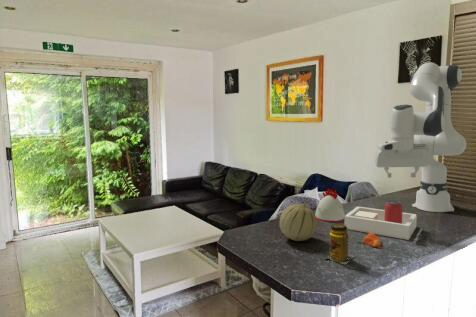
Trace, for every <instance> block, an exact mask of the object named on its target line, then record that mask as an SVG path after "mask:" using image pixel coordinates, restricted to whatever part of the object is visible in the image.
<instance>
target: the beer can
mask: <svg viewBox="0 0 476 317" xmlns="http://www.w3.org/2000/svg"><path fill="white" fill-rule="evenodd" d="M384 210H385V221H387V222H394V223H400V224H402V212H403V205H402V202H401V201H400V200H387V201H386V203H385V205H384Z"/></svg>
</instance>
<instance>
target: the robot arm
mask: <svg viewBox="0 0 476 317" xmlns="http://www.w3.org/2000/svg"><path fill="white" fill-rule="evenodd" d="M462 74H463V72H462V69H461V67H460V65H457V64H456V65H455V64H448V65H440V66H439V65H438V64H436V63H435V62H431V61H430V62H428V61H427V62H425V63H423V64H422V65H420V66H419V68H417V70H415V71H413V72H412V73H411V74H410V80H409V84H410V85H409V92H410V95H412V97H413V98H415V99H416V100H418V101H421V102H425V111H420V112H419V111H415V112H414V106H413V105H411V104H400V105H399V104H398V105H395V106H393V107H392V109H391V113H390V114H391V116H390V132H391V133H390V136H389V140H386V141H383V142H380V143H378V144H377V147H378V150H376V152H375V158H374V163H375V164H374V165H375V166H376V167H377V168H383V170H384V172H386V178H388V179H391V178H392V173H391V172H389V170H390V168H413V169H414V170H413V171H412V172H410V177H411V178H417V177H416V176H417V173H418V172H419V170H420V168H421V170H420V171H421V180H420V184H419V187H420V189H419V190H417V191H416V195H415V196H416V200H415V202H414V203H412V204H411V207H413V208H417V209H418V210H422V211H425V212H432V213H446V212H447V213H448V212H455V208H454V206H453V205H452V203H451V202H452V201H451V194H450V193H449V192H448V183H447V175H448V169H447V166H446V165H445V164H444V163H442V162H440V161H437V160H436V159H435V156H448V157H449V156H457V155H461V154H462V153H464V152H465V151H466V148H467V140H466V138H465V137H464V136H463V135H462V134H460V133H459V132H458V131H457V130H456V129H455V128H454V126H453V124H452V116H451V114H452V112H451V111H452V110H451V109H452V91H454V89H455V88H456V87H458V86H459V84H460V83H461V80H462V77H463V75H462Z"/></svg>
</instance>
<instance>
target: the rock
mask: <svg viewBox="0 0 476 317" xmlns="http://www.w3.org/2000/svg"><path fill="white" fill-rule="evenodd" d="M363 244H364V245H366V246H370V247H374V248H380V247H382V246H383V244H382V243H381V240H380V238H379V237H378V236H377V234H374V233H367V235H365V236H364V238H363Z"/></svg>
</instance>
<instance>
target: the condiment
mask: <svg viewBox="0 0 476 317" xmlns="http://www.w3.org/2000/svg"><path fill="white" fill-rule="evenodd" d="M329 256H330V259H331V260H333V261H335V262H334V263H336V262H337V263H336V264H342V265H344V266H345V265H347V264H348V263H349V262H350V261H351V260H352V259H354V257H355V255H352V254H349V234H348V229H347V227H346V226H345V225H344V223H332V224H331V225H330V232H329ZM347 258H349V260H348V259H347ZM333 261H332V262H333ZM338 262H343V263H338Z"/></svg>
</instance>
